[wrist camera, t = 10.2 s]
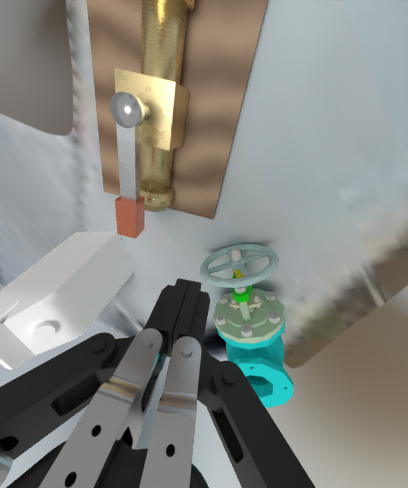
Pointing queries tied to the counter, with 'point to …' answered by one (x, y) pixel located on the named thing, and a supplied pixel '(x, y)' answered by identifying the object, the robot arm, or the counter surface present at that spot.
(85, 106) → the counter surface
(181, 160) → the mounting board
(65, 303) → the milk
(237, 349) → the valve
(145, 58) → the brass valve
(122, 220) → the valve lever
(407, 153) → the counter surface
